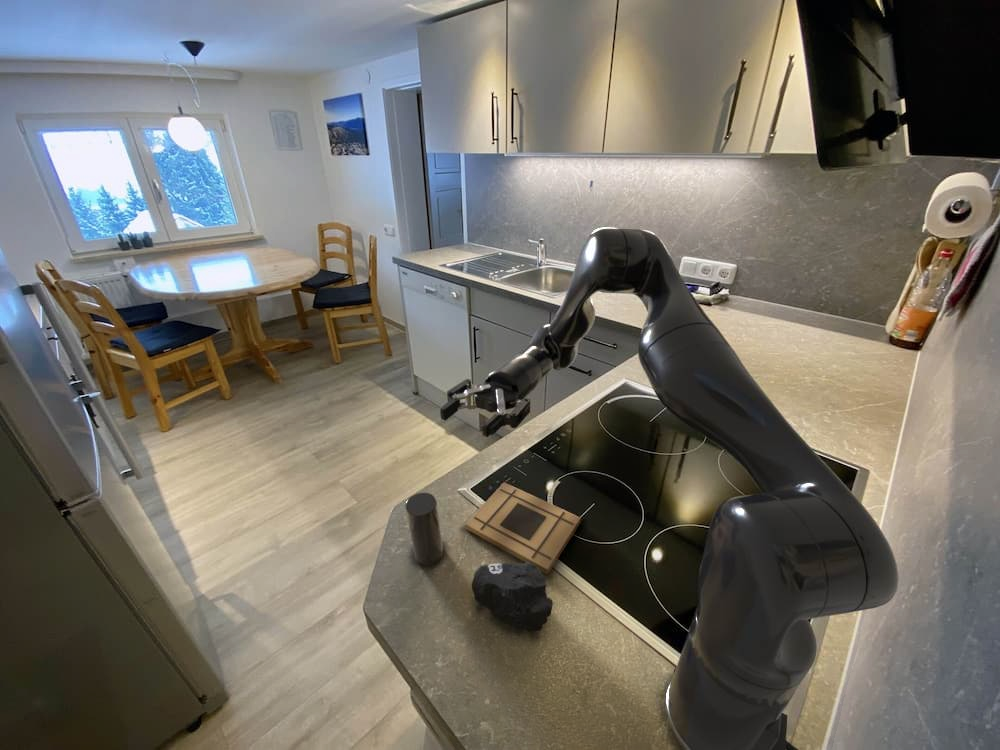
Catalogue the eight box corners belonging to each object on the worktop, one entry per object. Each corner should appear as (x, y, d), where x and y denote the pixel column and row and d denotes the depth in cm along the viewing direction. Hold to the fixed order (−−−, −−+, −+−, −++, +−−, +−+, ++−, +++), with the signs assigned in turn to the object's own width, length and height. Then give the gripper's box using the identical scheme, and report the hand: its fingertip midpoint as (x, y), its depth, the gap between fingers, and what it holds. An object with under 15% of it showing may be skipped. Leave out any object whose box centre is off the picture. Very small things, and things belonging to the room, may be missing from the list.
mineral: (478, 646, 54) (476, 619, 52) (471, 584, 62) (469, 558, 60) (553, 632, 56) (555, 605, 53) (537, 573, 64) (538, 547, 61)
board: (580, 522, 72) (581, 517, 71) (547, 574, 63) (547, 569, 63) (504, 486, 80) (503, 481, 79) (465, 528, 71) (464, 523, 71)
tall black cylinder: (448, 549, 68) (442, 500, 62) (429, 570, 65) (421, 520, 59) (428, 536, 70) (420, 488, 65) (408, 556, 67) (398, 507, 62)
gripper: (483, 353, 80) (426, 391, 68) (549, 371, 73) (499, 417, 61) (484, 386, 83) (431, 428, 72) (547, 407, 77) (500, 456, 65)
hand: (462, 423), depth 66 cm, fingers open, 8 cm apart
